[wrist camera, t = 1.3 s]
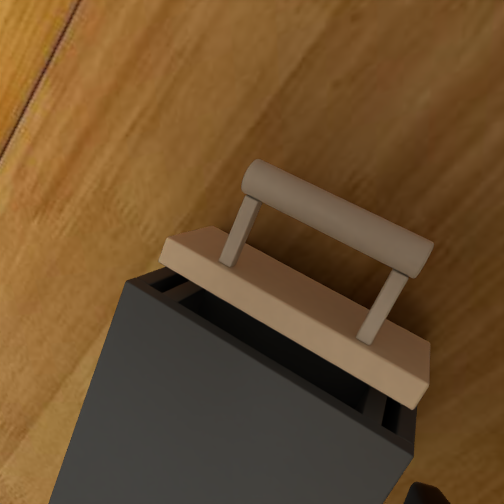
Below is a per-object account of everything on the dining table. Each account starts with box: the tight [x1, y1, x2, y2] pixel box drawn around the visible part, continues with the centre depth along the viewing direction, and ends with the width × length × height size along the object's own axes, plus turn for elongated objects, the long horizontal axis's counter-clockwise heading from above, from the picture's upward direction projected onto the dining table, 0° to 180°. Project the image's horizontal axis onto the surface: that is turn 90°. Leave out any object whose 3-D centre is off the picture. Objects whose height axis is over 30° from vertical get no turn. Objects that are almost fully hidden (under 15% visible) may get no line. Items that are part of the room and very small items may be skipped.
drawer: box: [158, 159, 434, 425], centre depth 20 cm, size 18×11×4 cm, turn 156°
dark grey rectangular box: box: [48, 267, 417, 504], centre depth 22 cm, size 14×12×6 cm
